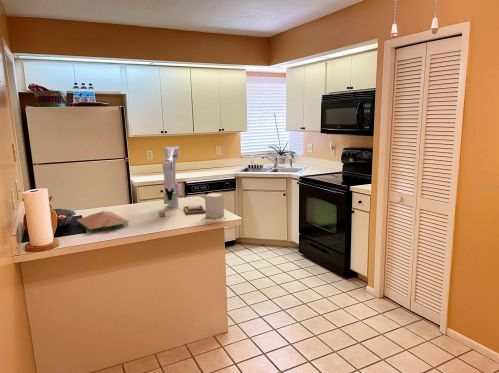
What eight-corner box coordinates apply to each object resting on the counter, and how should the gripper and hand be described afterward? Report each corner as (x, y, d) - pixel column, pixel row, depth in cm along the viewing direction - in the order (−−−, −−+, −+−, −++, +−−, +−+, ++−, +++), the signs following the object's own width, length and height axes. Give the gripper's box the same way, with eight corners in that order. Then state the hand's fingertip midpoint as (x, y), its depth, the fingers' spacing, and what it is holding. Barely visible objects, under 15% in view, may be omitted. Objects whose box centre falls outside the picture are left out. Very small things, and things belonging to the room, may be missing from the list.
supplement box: (224, 216, 243) (224, 194, 240) (216, 219, 236) (215, 197, 233) (213, 214, 248) (213, 192, 245) (205, 217, 241) (204, 195, 238)
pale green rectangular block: (163, 202, 249) (163, 192, 248) (175, 201, 251) (175, 191, 250) (164, 204, 245) (163, 193, 244) (176, 203, 248) (175, 193, 246)
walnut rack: (183, 209, 261) (183, 206, 261) (202, 208, 265) (201, 205, 264) (186, 215, 246) (186, 212, 245) (205, 214, 249) (205, 211, 249)
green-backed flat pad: (92, 235, 208) (91, 221, 206) (74, 223, 233) (73, 210, 231) (131, 227, 223) (130, 214, 221) (111, 216, 247) (110, 204, 246)
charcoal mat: (159, 213, 253) (159, 212, 253) (180, 211, 256) (180, 210, 256) (160, 217, 243) (160, 216, 243) (181, 215, 247) (181, 214, 247)
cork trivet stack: (186, 209, 260) (186, 206, 259) (199, 208, 262) (199, 205, 262) (187, 210, 255) (187, 208, 254) (200, 209, 257) (200, 207, 257)
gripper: (175, 181, 239) (176, 201, 242) (173, 177, 253) (174, 196, 256) (164, 181, 238) (165, 202, 240) (163, 178, 251) (164, 197, 254)
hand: (169, 199), depth 248 cm, fingers closed on pale green rectangular block, 4 cm apart
